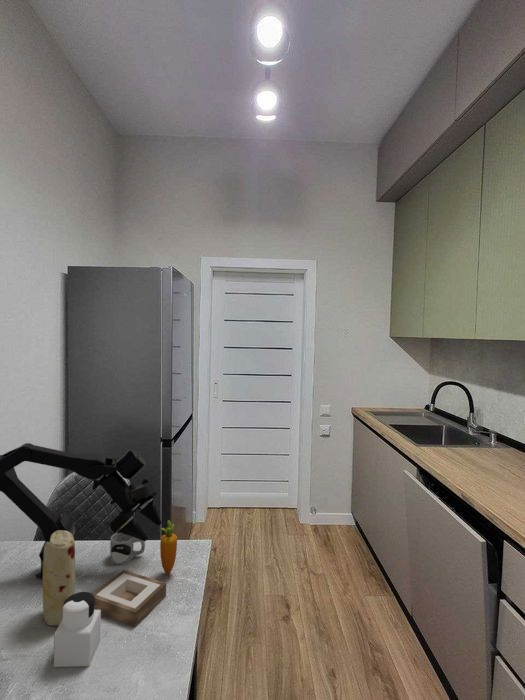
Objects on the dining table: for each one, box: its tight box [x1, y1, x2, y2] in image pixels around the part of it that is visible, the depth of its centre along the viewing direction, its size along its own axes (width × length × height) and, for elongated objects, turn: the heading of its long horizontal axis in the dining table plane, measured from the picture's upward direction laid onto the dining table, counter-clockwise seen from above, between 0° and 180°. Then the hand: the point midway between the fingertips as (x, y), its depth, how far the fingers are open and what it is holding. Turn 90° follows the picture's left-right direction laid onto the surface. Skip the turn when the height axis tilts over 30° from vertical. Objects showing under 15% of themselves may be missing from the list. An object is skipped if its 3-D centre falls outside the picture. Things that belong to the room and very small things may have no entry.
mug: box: [109, 532, 146, 566], centre depth 119 cm, size 10×7×7 cm
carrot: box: [159, 520, 178, 576], centre depth 112 cm, size 5×5×15 cm
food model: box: [42, 530, 76, 627], centre depth 93 cm, size 10×7×20 cm
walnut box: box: [91, 569, 167, 628], centre depth 99 cm, size 14×12×4 cm
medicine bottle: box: [53, 591, 102, 668], centre depth 83 cm, size 7×7×12 cm
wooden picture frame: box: [96, 573, 160, 608], centre depth 99 cm, size 12×10×3 cm
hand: (153, 531), depth 112 cm, fingers open, 9 cm apart
